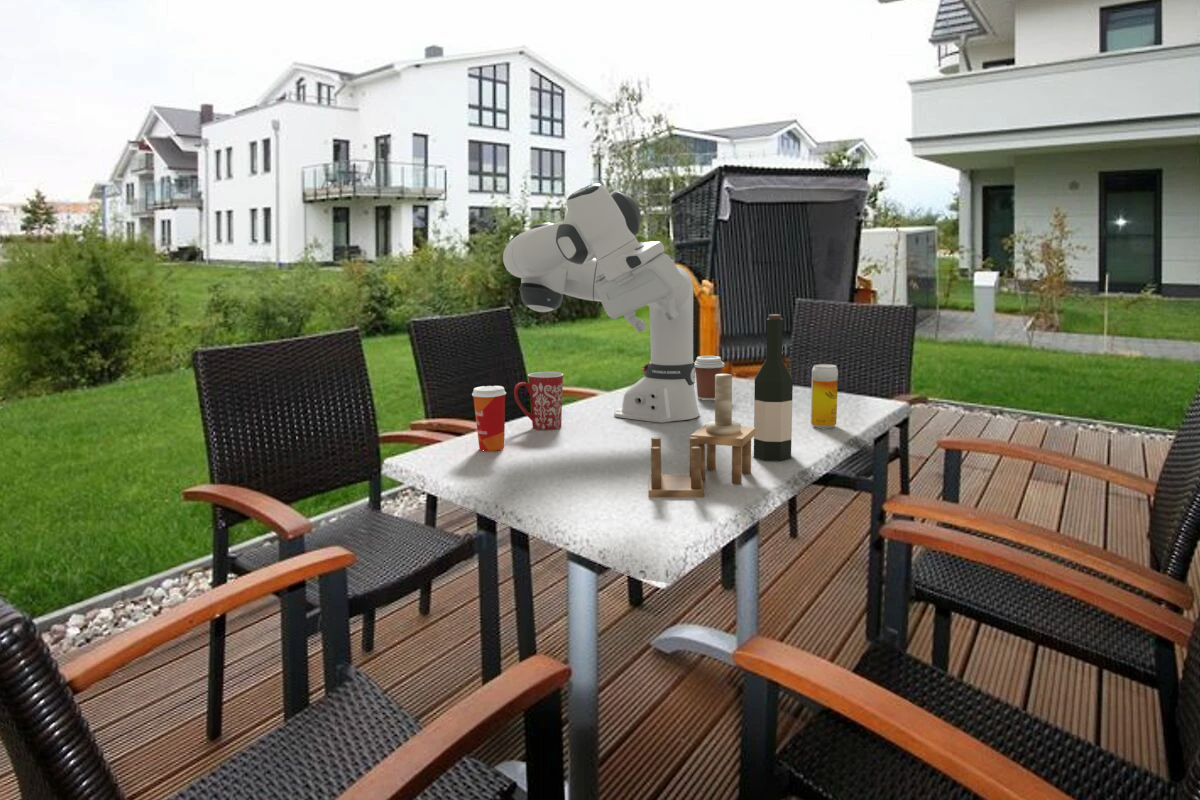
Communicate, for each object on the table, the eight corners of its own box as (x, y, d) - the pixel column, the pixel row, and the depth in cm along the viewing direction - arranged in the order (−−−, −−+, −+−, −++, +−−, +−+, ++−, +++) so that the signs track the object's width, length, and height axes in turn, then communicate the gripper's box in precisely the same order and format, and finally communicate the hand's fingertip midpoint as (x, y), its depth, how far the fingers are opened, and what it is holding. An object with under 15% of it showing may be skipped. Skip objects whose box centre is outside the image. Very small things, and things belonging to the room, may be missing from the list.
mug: (561, 421, 210) (559, 370, 207) (568, 429, 201) (567, 375, 199) (512, 425, 207) (510, 373, 204) (518, 433, 198) (516, 379, 195)
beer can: (837, 429, 194) (839, 367, 191) (811, 429, 195) (812, 367, 192) (835, 424, 200) (837, 363, 197) (809, 423, 201) (811, 363, 198)
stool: (691, 480, 156) (690, 434, 154) (706, 466, 165) (706, 423, 163) (741, 485, 152) (742, 439, 150) (754, 471, 161) (755, 427, 159)
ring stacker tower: (701, 433, 155) (701, 377, 153) (711, 426, 161) (711, 371, 159) (735, 436, 152) (735, 378, 150) (744, 428, 158) (744, 373, 156)
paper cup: (475, 445, 187) (472, 385, 185) (509, 443, 188) (506, 384, 185) (473, 453, 180) (470, 392, 177) (508, 452, 180) (505, 390, 178)
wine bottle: (761, 449, 178) (763, 312, 172) (798, 454, 173) (801, 313, 167) (745, 458, 171) (747, 316, 165) (783, 463, 166) (786, 317, 160)
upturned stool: (648, 498, 147) (647, 450, 145) (649, 482, 156) (648, 436, 155) (704, 498, 146) (704, 449, 144) (701, 482, 156) (701, 436, 154)
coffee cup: (689, 400, 233) (689, 359, 231) (697, 394, 242) (697, 354, 239) (720, 402, 230) (720, 360, 228) (727, 396, 238) (727, 355, 236)
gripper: (582, 285, 163) (616, 344, 166) (647, 251, 147) (683, 317, 150) (601, 272, 167) (634, 330, 169) (667, 238, 151) (702, 303, 153)
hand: (658, 324), depth 159 cm, fingers open, 8 cm apart
